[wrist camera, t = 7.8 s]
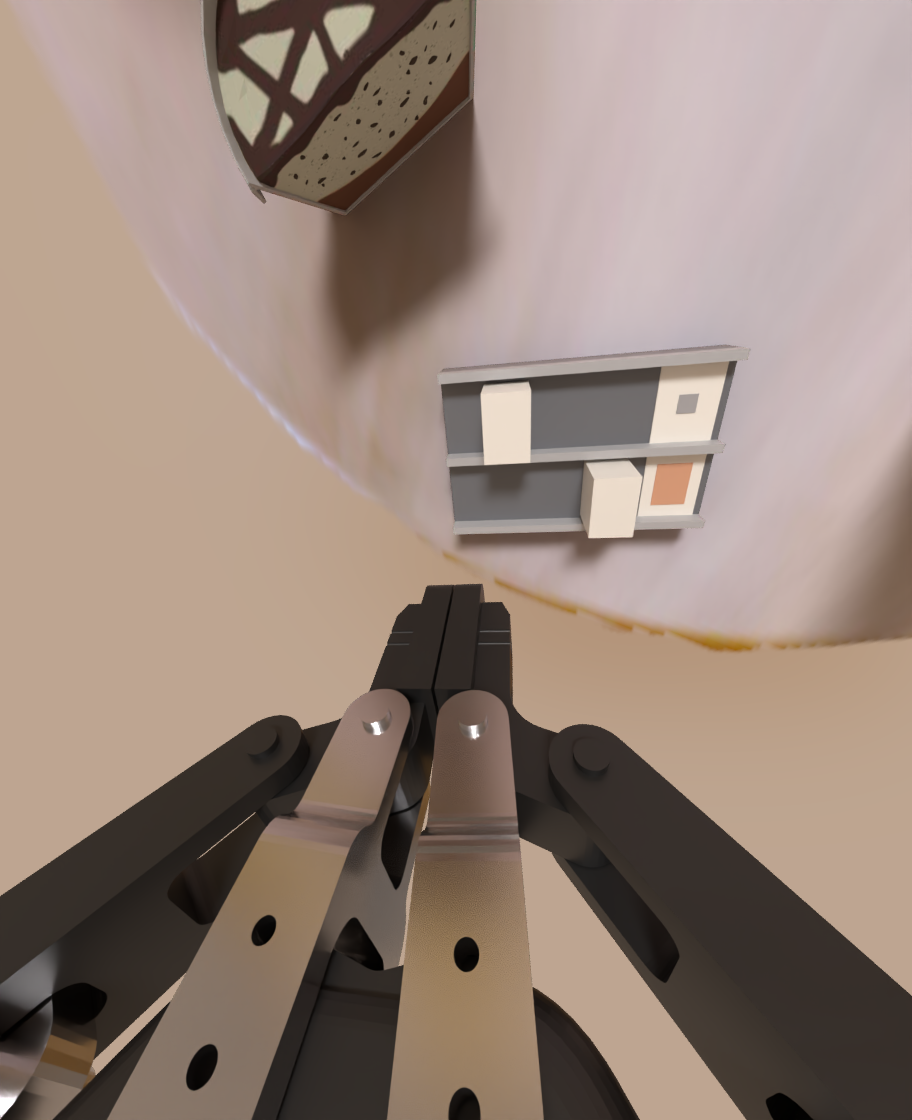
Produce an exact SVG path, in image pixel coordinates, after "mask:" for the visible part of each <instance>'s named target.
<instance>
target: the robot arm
mask: <svg viewBox="0 0 912 1120" xmlns="http://www.w3.org/2000/svg"><path fill="white" fill-rule="evenodd" d="M512 680H513V679H512V643H511V625H510V614H509V613H508V611H507V609H506V608H505V606H504V605H503V603H502V602H491V603H490V602H487V603H485V601H484V590H483V584H464V585H433V586H432V585H431V586H427V587H426V590H425V594H424V597H423V600H422V603H421V604H409V605H408V606H407V607H406V608H405V609H404V610H403V611H402V612H401V613H400V614H399V615H398V616H397V618H396V621H395V624H394V626H393V629H392V634H390V637H389V639H388V642H387V646H386V648H385V650H384V653H383V656H382V658H381V661H380V664H379V666H378V669H377V672H376V675H375V677H374V680H373V683H372V685H371V688H370V691H369V692H368V693H365V694H363V695H362V696H360V697H359V698H357V699H356V700H355V701H354V702H353V703H352V704H351V705H350V706H349V707H348V708H347V710H346V712H345V713H344V715H343V717H342V718H341V719H339V720H336V721H333V722H330V723H326V724H322V725H319V726H315V727H311V728H308V729H304V730H302V729H301V727H300V725H299V724H298V722H297V721H296V720H295V719H293V718H291V717H289V716H283V715H278V716H272V717H268V718H265V719H262V720H260V721H258V722H256V723H255V724H253V725H251V726H250V727H248V728H247V729H245V730H244V731H243V732H241V733H239V734H238V735H237V736H235V737H234V738H232V739H231V740H229V741H228V742H226V743H225V744H223V745H222V746H221V747H219V748H217V749H216V750H214V751H213V752H212V753H210V754H209V755H207V756H206V757H204V758H203V759H201V760H200V761H199V762H197V763H195V764H194V765H192V766H191V767H189V768H188V769H187V770H185V771H184V772H182V773H181V774H179V775H178V776H177V777H175V778H173V779H172V780H170V781H169V782H167V783H166V784H164V785H163V786H162V787H160V788H159V789H157V790H156V791H154V792H153V793H151V794H150V795H148V796H147V797H145V798H144V799H143V800H141V801H140V802H138V803H137V804H135V805H134V806H132V807H131V808H129V809H128V810H126V811H125V812H123V813H122V814H120V815H119V816H117V817H116V818H115V819H113V820H112V821H110V822H109V823H107V824H106V825H104V826H103V827H101V828H100V829H98V830H97V831H95V832H94V833H93V834H91V835H90V836H88V837H87V838H85V839H84V840H82V841H81V842H79V843H78V844H76V845H75V846H73V847H72V848H71V849H69V850H67V851H66V852H64V853H63V854H62V855H60V856H59V857H57V858H56V859H54V860H53V861H51V862H50V863H48V864H47V865H45V866H44V867H43V868H41V869H39V870H38V871H37V872H35V873H34V874H32V875H31V876H29V877H28V878H26V879H25V880H23V881H22V882H20V883H19V884H17V885H16V886H15V887H13V888H12V889H10V890H9V891H7V892H6V893H5V894H3V895H1V896H0V1120H640V1119H639V1118H638V1116H637V1114H636V1112H635V1111H634V1109H633V1107H632V1105H631V1104H630V1102H629V1100H628V1098H627V1096H626V1095H625V1093H624V1091H623V1089H622V1088H621V1086H620V1084H619V1082H618V1080H617V1079H616V1077H615V1075H614V1074H613V1072H612V1071H611V1069H610V1067H609V1066H608V1064H607V1062H606V1061H605V1059H604V1058H603V1056H602V1055H601V1054H600V1052H599V1051H598V1049H597V1048H596V1046H595V1045H594V1044H593V1042H592V1041H591V1039H590V1038H589V1037H588V1036H587V1035H586V1033H585V1032H584V1031H583V1030H582V1029H581V1028H580V1026H579V1025H578V1024H577V1023H576V1022H575V1021H574V1019H573V1018H571V1016H569V1015H568V1014H567V1013H566V1012H565V1011H564V1010H563V1009H562V1008H561V1007H560V1006H559V1005H558V1004H556V1003H555V1002H554V1001H553V1000H551V999H550V998H549V997H547V996H546V995H544V994H543V993H542V992H540V991H539V990H537V989H535V988H534V987H532V978H531V966H530V955H529V943H528V932H527V920H526V908H525V897H524V885H523V875H522V863H521V851H520V840H519V837H520V838H522V839H524V840H526V841H529V842H531V843H533V844H535V845H537V846H539V847H542V848H544V849H546V850H548V851H550V852H552V854H553V856H554V858H555V859H556V861H557V863H558V864H559V865H560V867H561V868H562V870H563V871H564V872H565V874H566V875H567V876H568V878H569V879H570V880H571V882H572V883H573V884H574V886H575V887H576V888H577V890H578V891H579V893H580V894H581V895H582V897H583V898H584V899H585V901H586V902H587V904H588V905H589V906H590V908H591V909H592V910H593V912H594V913H595V914H596V916H597V917H598V918H599V920H600V921H601V923H602V924H603V925H604V926H605V928H606V929H607V931H608V932H609V933H610V935H611V936H612V937H613V939H614V940H615V942H616V943H617V944H618V946H619V947H620V948H621V950H622V951H623V952H624V954H625V955H626V957H627V958H628V959H629V961H630V962H631V963H632V965H633V966H634V967H635V969H636V970H637V971H638V973H639V974H640V976H641V977H642V978H643V980H644V981H645V982H646V984H647V985H648V986H649V988H650V989H651V990H652V992H653V993H654V995H655V996H656V997H657V999H658V1000H659V1001H660V1003H661V1004H662V1005H663V1007H664V1008H665V1009H666V1011H667V1012H668V1013H669V1015H670V1016H671V1018H672V1019H673V1020H674V1022H675V1023H676V1024H677V1026H678V1027H679V1028H680V1030H681V1031H682V1033H683V1034H684V1035H685V1037H686V1038H687V1039H688V1041H689V1042H690V1043H691V1045H692V1046H693V1048H694V1049H695V1050H696V1052H697V1053H698V1054H699V1056H700V1057H701V1058H702V1060H703V1061H704V1062H705V1064H706V1065H707V1066H708V1068H709V1069H710V1071H711V1072H712V1073H713V1075H714V1076H715V1077H716V1079H717V1080H718V1081H719V1083H720V1084H721V1086H722V1087H723V1088H724V1090H725V1091H726V1092H727V1094H728V1095H729V1096H730V1098H731V1099H732V1100H733V1102H734V1103H735V1105H736V1106H737V1107H738V1109H739V1110H740V1111H741V1113H742V1114H743V1115H744V1117H745V1118H746V1119H747V1120H912V996H911V995H910V994H909V993H908V992H907V991H906V990H904V989H903V988H902V987H901V986H900V985H899V984H898V983H896V982H895V981H894V980H893V979H892V978H891V977H890V976H889V975H887V974H886V973H885V972H884V971H883V970H882V969H881V968H879V967H878V966H877V965H876V964H875V963H874V962H873V961H872V960H870V959H869V958H868V957H867V956H866V955H865V954H864V953H862V952H861V951H860V950H859V949H858V948H857V947H856V946H855V945H853V944H852V943H851V942H850V941H849V940H848V939H846V938H845V937H844V936H843V935H842V934H841V933H840V932H839V931H837V930H836V929H835V928H834V927H833V926H832V925H831V924H829V923H828V922H827V921H826V920H825V919H824V918H822V916H820V915H819V914H818V913H817V912H816V911H815V910H813V909H812V908H811V907H810V906H809V905H808V904H807V903H806V902H804V901H803V900H802V899H801V898H800V897H799V896H798V895H796V894H795V893H794V892H793V891H792V890H791V889H790V888H789V887H787V886H786V885H785V884H784V883H783V882H782V881H781V880H779V879H778V878H777V877H776V876H775V875H773V873H772V872H770V871H769V870H768V869H767V868H766V867H765V866H764V865H762V864H761V863H760V862H759V861H758V860H757V859H756V858H754V857H753V856H752V855H751V854H750V853H749V852H748V851H747V850H745V849H744V848H743V847H742V846H741V845H740V844H739V843H737V842H736V841H735V840H734V839H733V838H732V837H731V836H729V835H728V834H727V833H726V832H725V831H724V830H723V829H722V828H720V827H719V826H718V825H717V824H716V823H715V822H714V821H712V820H711V819H710V818H709V817H708V816H707V815H705V814H704V813H703V812H702V811H701V810H700V809H699V808H698V807H696V806H695V805H694V804H693V803H692V802H691V801H690V800H689V799H687V798H686V797H685V796H684V795H683V794H682V793H681V792H679V791H678V790H677V789H676V788H675V787H674V786H673V785H671V784H670V783H669V782H668V781H667V780H666V779H665V778H664V777H662V776H661V775H660V774H659V773H658V772H656V771H655V770H654V769H653V768H652V767H651V766H650V765H649V764H648V763H646V762H645V761H644V760H643V759H642V758H641V757H640V756H639V755H637V754H636V753H635V752H634V751H633V750H632V749H631V748H629V747H628V746H627V745H626V744H625V743H623V741H621V740H620V739H619V738H618V737H617V736H615V735H614V734H613V733H611V732H609V731H607V730H605V729H603V728H601V727H598V726H594V725H587V724H578V725H573V726H570V727H567V728H565V729H563V730H562V731H560V732H559V733H556V732H552V731H550V730H547V729H543V728H541V727H538V726H536V725H533V724H532V723H530V722H528V721H527V720H525V719H524V718H523V717H522V716H521V715H520V714H519V713H518V712H517V711H516V709H515V708H514V706H513V687H512V683H513V682H512ZM432 763H433V768H432ZM431 768H432V779H431V786H430V781H429V780H430V774H431ZM429 798H430V800H429ZM428 802H429V813H428V820H427V825H426V828H425V830H423V831H422V827H423V823H424V819H425V814H426V810H427V806H428ZM254 812H256V813H255V814H254V815H253V816H251V815H252V814H253V813H254ZM249 816H251V817H250V818H249V819H248V820H246V819H247V818H248V817H249ZM244 820H246V821H245V822H244V823H243V824H242V825H240V826H239V827H238V828H237V829H235V828H236V827H237V826H238V825H239V824H241V823H242V822H243V821H244ZM233 829H235V830H234V831H233V832H232V833H230V834H229V835H228V836H227V837H226V838H224V839H223V840H222V841H221V842H219V841H220V840H221V839H222V838H223V837H225V836H226V835H227V834H228V833H229V832H231V831H232V830H233ZM421 831H422V832H421ZM217 842H219V843H218V844H217V845H216V846H214V847H213V848H212V849H211V850H209V849H210V848H211V847H212V846H213V845H215V844H216V843H217ZM207 850H209V851H208V852H207V853H206V854H205V855H203V856H202V857H200V856H201V855H202V854H204V853H205V852H206V851H207ZM199 857H200V858H199ZM415 857H416V858H415ZM198 858H199V859H198ZM196 859H197V860H196ZM414 861H415V867H414V877H413V886H412V895H411V904H410V913H409V923H408V932H407V941H406V950H405V960H404V965H402V966H398V965H399V961H400V956H401V951H402V947H403V941H404V934H405V925H406V897H407V891H408V886H409V882H410V878H411V873H412V869H413V865H414ZM185 973H186V974H185ZM184 974H185V976H184V978H183V980H182V982H181V984H180V985H179V987H178V989H177V991H176V993H175V995H174V996H173V998H172V1000H171V1002H169V1003H168V1004H167V1005H166V1006H165V1007H164V1008H163V1009H162V1010H161V1011H160V1012H159V1013H158V1014H157V1015H156V1016H155V1017H154V1018H153V1019H152V1020H151V1021H150V1022H149V1023H148V1024H147V1025H146V1026H145V1027H144V1028H143V1029H142V1030H141V1031H140V1032H139V1033H138V1034H137V1035H136V1036H135V1037H134V1038H133V1039H132V1040H131V1041H130V1042H129V1043H128V1044H127V1045H126V1046H125V1047H124V1048H123V1049H122V1050H121V1051H120V1052H119V1053H118V1054H117V1055H116V1056H115V1057H114V1058H113V1059H112V1060H111V1061H110V1062H109V1063H108V1064H107V1065H106V1066H105V1067H104V1068H103V1069H102V1070H101V1071H100V1072H99V1073H98V1074H97V1075H96V1076H95V1070H94V1069H93V1067H92V1063H93V1060H94V1059H95V1058H96V1057H97V1056H98V1055H99V1054H100V1053H101V1052H102V1051H103V1050H104V1049H106V1048H107V1047H108V1046H109V1045H110V1044H111V1043H112V1042H113V1041H114V1040H115V1039H116V1038H117V1037H118V1036H119V1035H120V1034H121V1033H122V1032H123V1031H125V1029H127V1028H128V1027H129V1026H130V1025H131V1024H132V1023H133V1022H134V1021H135V1020H136V1019H137V1018H138V1017H139V1016H140V1015H141V1014H143V1013H144V1012H145V1011H146V1010H147V1009H148V1008H149V1007H150V1006H151V1005H152V1004H153V1003H154V1002H155V1001H156V1000H157V999H158V998H159V997H160V996H162V995H163V994H164V993H165V992H166V991H167V990H168V989H169V988H170V987H171V986H172V985H173V984H174V983H175V982H176V981H177V980H178V979H180V977H182V976H183V975H184Z"/></svg>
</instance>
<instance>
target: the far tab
mask: <svg viewBox="0 0 912 1120" xmlns="http://www.w3.org/2000/svg"><path fill="white" fill-rule="evenodd" d="M641 484H642V476H641V474H640V473H639V472H638V471H637V469H636V468H635V467H634V466H633V465H632V463H631V462H630V461H629V460H628V458H615V459H595V460H584V470H583V482H582V494H581V507H580V516H581V519H582V521H583V524H584V527H585V530H586V533H587V536H588V538H620V537H633V533H634V527H635V521H636V515H637V508H638V502H639V496H640V490H641Z"/></svg>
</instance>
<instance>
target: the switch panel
mask: <svg viewBox="0 0 912 1120" xmlns="http://www.w3.org/2000/svg"><path fill="white" fill-rule="evenodd" d="M749 352H750V348H744V347H737V346H730V345H718V346H706V347H694V348H683V349H671V350H659V351H647V352H636V353H624V354H612V355H601V356H589V357H577V358H566V359H554V360H542V361H530V362H519V363H507V364H495V365H484V366H472V367H460V368H449V369H443V370H442V371H441V372H440V373H439V374H438V375H437V377H438V384H441V388H442V398H443V408H444V418H445V428H446V438H447V448H448V455H447V458H446V464H447V467H449V468H450V478H451V488H452V499H453V509H454V519H455V522H454V526H453V532H454V534H489V533H528V532H567V531H586V530H585V527H584V524H583V521H582V519H581V516H580V507H581V494H582V482H583V470H584V460H595V459H615V458H628V460H629V461H630V462H631V463H632V465H633V466H634V467H635V468H636V469H637V471H638V472H639V473H640V474H641V476H642V484H641V490H640V496H639V502H638V508H637V515H636V521H635V527H634V530H645V529H684V528H703V527H704V523H705V520H704V519H703V518H702V517H701V516H700V515H699V511H700V507H701V503H702V499H703V495H704V491H705V487H706V483H707V479H708V475H709V471H710V467H711V463H712V459H713V455H714V454H715V453H723V451H724V447H725V444H724V443H722V442H721V441H719V440H718V435H719V431H720V427H721V423H722V419H723V415H724V411H725V407H726V403H727V399H728V395H729V391H730V387H731V383H732V379H733V375H734V371H735V367H736V363H737V361H738V360H748V356H749ZM517 381H529V385H530V388H531V454H530V463H517V464H497V465H484V449H483V430H482V411H481V392H482V389H483V386H484V384H491V383H504V382H517Z"/></svg>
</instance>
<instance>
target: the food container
mask: <svg viewBox="0 0 912 1120" xmlns="http://www.w3.org/2000/svg"><path fill="white" fill-rule="evenodd" d="M475 26H476V0H201V35H202V44H203V52H204V61H205V69H206V73H207V78H208V83H209V87H210V92H211V96H212V101H213V104H214V107H215V110H216V114H217V117H218V120H219V123H220V126H221V129H222V132H223V135H224V137H225V139H226V142H227V144H228V146H229V149H230V151H231V153H232V156H233V158H234V160H235V162H236V164H237V166H238V168H239V170H240V172H241V174H242V175H243V177H244V179H245V181H246V183H247V184H248V186H249V188H250V190H251V192H252V193H253V194H254V195H255V196H256V197H257V198H258V199H259V200H261V201H262V202H263V203H266V200H265V198H264V196H263V194H262V193H261V191H260V190H262V191H266V192H269V193H272V194H275V195H279V196H282V197H285V198H288V199H292V200H295V201H298V202H301V203H305V204H308V205H311V206H314V207H318V208H321V209H324V210H327V211H331V212H334V213H337V214H341V215H344V216H346V215H347V214H348V213H349V212H350V211H351V210H352V209H354V208H355V207H356V206H357V205H358V204H359V203H360V202H361V201H362V200H363V199H364V198H365V197H367V196H368V195H369V194H370V193H371V192H372V191H373V190H374V189H375V188H376V187H377V186H378V185H380V184H381V183H382V182H383V181H384V180H385V179H386V178H387V177H388V176H389V175H390V174H391V173H393V172H394V171H395V170H396V169H397V168H398V167H399V166H400V165H401V164H402V163H403V162H404V161H406V160H407V159H408V158H409V157H410V156H411V155H412V154H413V153H414V152H415V151H416V150H417V149H419V148H420V147H421V146H422V145H423V144H424V143H425V142H426V141H427V140H428V139H429V138H430V137H432V136H433V135H434V134H435V133H436V132H437V131H438V130H439V129H440V128H441V127H442V126H443V125H445V124H446V123H447V122H448V121H449V120H450V119H451V118H452V117H453V116H454V115H455V114H456V113H458V112H459V111H460V110H461V109H462V108H463V107H464V106H465V105H466V104H467V103H468V102H469V101H471V100H472V99H473V97H474V62H475Z"/></svg>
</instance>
